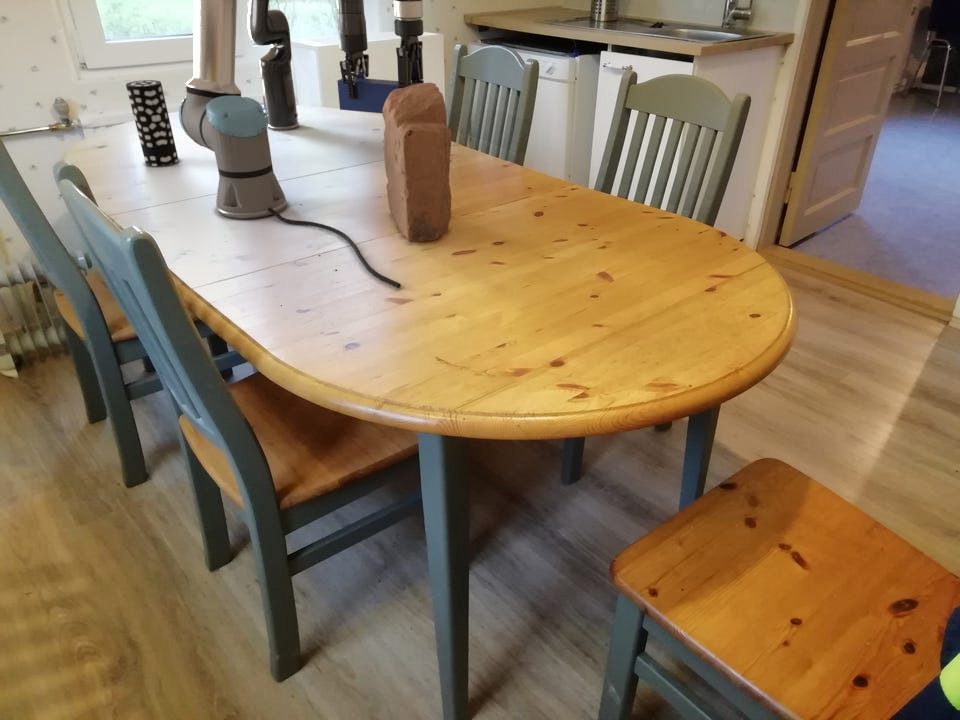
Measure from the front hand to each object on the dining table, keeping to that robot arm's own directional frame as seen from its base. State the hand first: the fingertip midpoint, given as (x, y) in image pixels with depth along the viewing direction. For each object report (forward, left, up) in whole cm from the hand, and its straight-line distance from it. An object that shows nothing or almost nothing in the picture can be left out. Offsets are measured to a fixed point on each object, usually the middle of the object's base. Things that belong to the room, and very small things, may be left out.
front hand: (412, 110), depth 192 cm
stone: (-52, +22, -11) cm, 58 cm away
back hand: (+12, +12, +3) cm, 17 cm away
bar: (+6, +6, -1) cm, 8 cm away
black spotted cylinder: (+21, +65, -1) cm, 68 cm away
